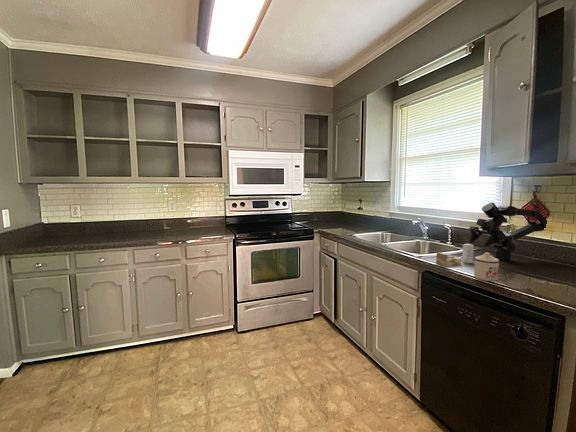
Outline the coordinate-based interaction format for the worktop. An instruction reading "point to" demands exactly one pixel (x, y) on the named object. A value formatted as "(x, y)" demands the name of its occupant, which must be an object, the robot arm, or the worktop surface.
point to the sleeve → (447, 260)
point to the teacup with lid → (486, 267)
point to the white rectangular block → (467, 253)
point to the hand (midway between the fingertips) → (477, 244)
